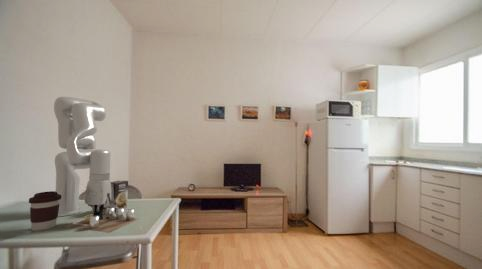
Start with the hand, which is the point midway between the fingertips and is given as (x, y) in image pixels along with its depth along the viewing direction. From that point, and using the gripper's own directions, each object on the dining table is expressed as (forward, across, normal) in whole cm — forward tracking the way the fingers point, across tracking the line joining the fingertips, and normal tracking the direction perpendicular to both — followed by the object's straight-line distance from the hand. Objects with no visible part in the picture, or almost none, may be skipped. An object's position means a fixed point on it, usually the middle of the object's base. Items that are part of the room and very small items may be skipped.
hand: (98, 219), depth 92 cm
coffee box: (+2, -5, +15) cm, 16 cm away
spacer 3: (+1, +6, +6) cm, 9 cm away
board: (+2, +3, 0) cm, 3 cm away
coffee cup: (+2, -16, -10) cm, 19 cm away
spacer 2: (+1, +1, +6) cm, 6 cm away
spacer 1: (+1, +5, -6) cm, 7 cm away
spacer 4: (+1, +12, +6) cm, 13 cm away
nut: (+1, -4, 0) cm, 4 cm away
